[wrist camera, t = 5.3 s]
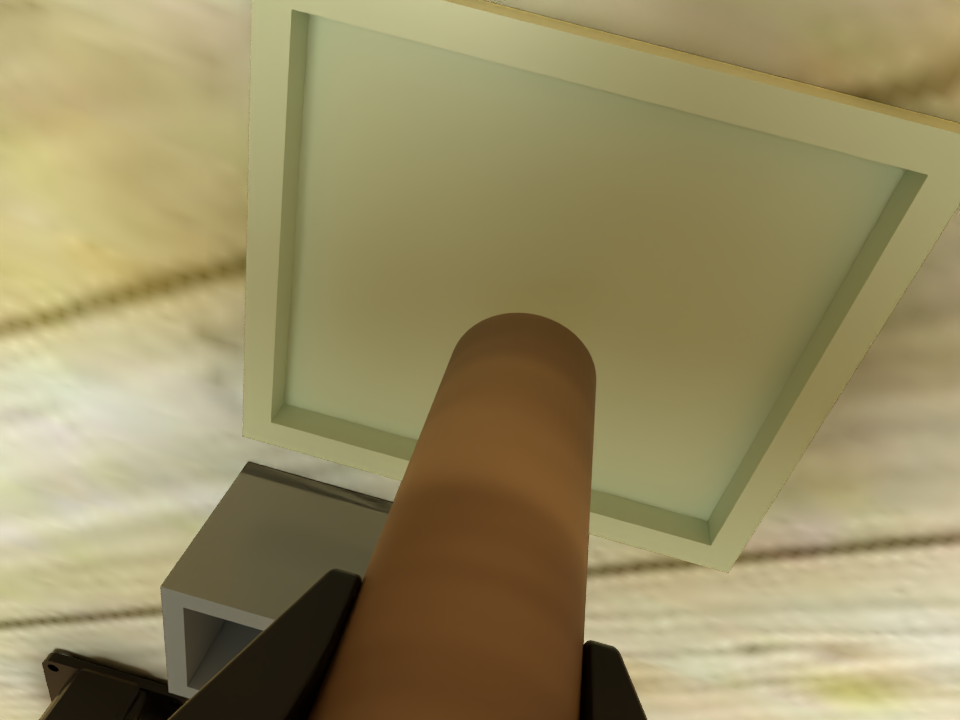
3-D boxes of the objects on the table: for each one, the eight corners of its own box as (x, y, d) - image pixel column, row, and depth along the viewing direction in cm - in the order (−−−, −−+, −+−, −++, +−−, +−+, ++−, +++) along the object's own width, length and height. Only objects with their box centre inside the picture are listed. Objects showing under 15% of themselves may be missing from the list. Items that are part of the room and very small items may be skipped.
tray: (721, 533, 20) (728, 573, 19) (265, 405, 21) (242, 436, 19) (962, 123, 14) (998, 143, 12) (285, -51, 14) (252, -49, 13)
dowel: (572, 452, 15) (512, 1129, 6) (438, 415, 15) (205, 1036, 7) (616, 335, 13) (612, 1043, 5) (464, 295, 13) (201, 916, 5)
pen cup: (378, 602, 25) (329, 739, 20) (245, 563, 25) (168, 692, 21) (398, 504, 22) (345, 640, 18) (247, 462, 22) (160, 586, 18)
